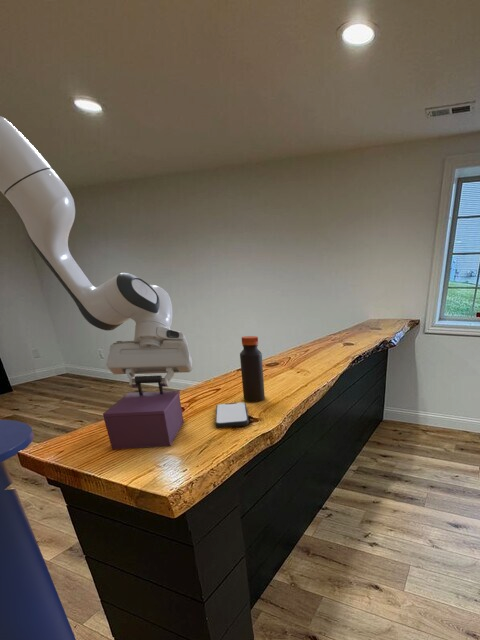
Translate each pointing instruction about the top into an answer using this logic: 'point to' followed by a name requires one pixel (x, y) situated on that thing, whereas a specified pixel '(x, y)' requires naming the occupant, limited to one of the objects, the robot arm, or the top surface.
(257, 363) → the bottle
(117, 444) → the purple box
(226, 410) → the smartphone
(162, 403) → the lid
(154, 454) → the top surface
